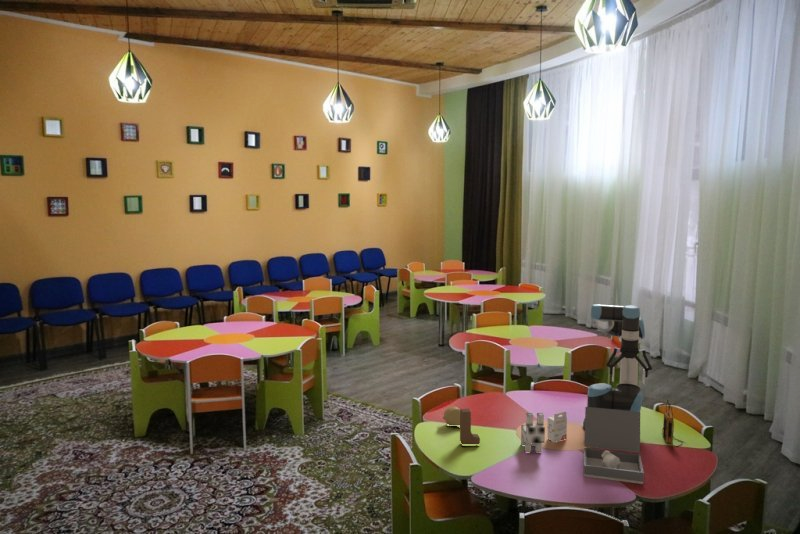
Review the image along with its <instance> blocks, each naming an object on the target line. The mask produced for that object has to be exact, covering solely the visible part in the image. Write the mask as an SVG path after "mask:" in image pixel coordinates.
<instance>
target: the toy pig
mask: <svg viewBox="0 0 800 534" xmlns="http://www.w3.org/2000/svg"><path fill="white" fill-rule="evenodd" d="M460 409H461V408H459V407H457V406H454V405H453V406H449V407H448V408H446V409H445V411H444V413H443V417H442V420H444V421H445V424H446V425H447V424H449V425H460Z"/></svg>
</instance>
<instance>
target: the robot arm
mask: <svg viewBox="0 0 800 534" xmlns="http://www.w3.org/2000/svg"><path fill="white" fill-rule="evenodd" d="M590 318H591V320H595V327H596V329H597V330H598V331H599V332H600V333H602V334H605V335H607V336H611V337H618V341H619V342H620V343H621V344H620V346H621V347H620V348H618V347H616V346H614V348H613V351H612V353H611V355H609V356H610V357H609V358H608V360H607V362H606V364H605V366H606V367H608V368H609V375H612V377H611V383H614V382H615V366H616V365H617V364H619V363H620V365H619V366H620V370H619V383H617V384H616V387H613V386H612V385H611V384H609V383H605V382H601V383H600V382H599V383H594V384H591V385H589V387H588V388H587V395H586V396H587V402H586V404H587V405H586V407H593V408H603V409H614V410H624V411H634V412H640V413H641V410H642V409H641V408H642V405H643V397H644V391H642V390H641V387H640V386H639V385H638V377H639V375H638V374H639V372H638V370H639V364H640V366H641V367H642V368H643V369H642V380H641V381H642V385H645V383H646V378H648V376H649V371H652V370H653V366H652V365H651V363H650V360H649V359H648V356H647V354H646V350H645V348H643V349H639V344H640V343H641V342H642V340H643V339H645V337H646V332H645V331H646V330H645V322H644V319H643V318H642V317H641V309H640V307H639V306H636V305H634V304H627V305H611V304H609V305H608V304H600V303H599V304H594V303H593V304H592V305H591V309H590ZM619 352H620V355H619V356H618V357H617V358H615V356H616V355H617V353H619ZM639 353H640V354H641V355H642V357H643V358H644V361H645V363H646V364H645V363H644V362H643V360H642V359H641V358H640V357H639ZM614 358H615V360H614ZM613 360H614V361H613ZM582 427H583V429H584V430H585V418H584V420H583V423H582Z"/></svg>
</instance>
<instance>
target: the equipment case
mask: <svg viewBox="0 0 800 534" xmlns="http://www.w3.org/2000/svg"><path fill="white" fill-rule="evenodd" d="M605 450H606V449H599V448H591V447H584V449H583V477H586V478H594V479H601V480H610V481H617V482H624V483H632V484H640V485H644V477H645V476H644V475H645V472H644V469H643V468H644V467H643V463H642V457H641V454H640V453H633V452H625V451H616V450H608V451H609V452H610V453H611V454H613V455H615V456H616V457H618V458H619V459H620V462H621V463H623V464H621V465H620V467H617V468H609V467H603V465H602V461H603V458H602V456H601V455H602V453H603V452H604V451H605Z"/></svg>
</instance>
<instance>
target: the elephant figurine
mask: <svg viewBox="0 0 800 534" xmlns="http://www.w3.org/2000/svg"><path fill="white" fill-rule="evenodd" d="M604 450H605V451H604V452H603V453H602V455H601V456H602V458H603V461H602V465H603V467H609V468H617V467H620V465H621V464H623V463H621V462H620V459H619V458H618V457H616V456H615V455H613V454H611V453H610V452H609V451H610V450H609V449H604Z"/></svg>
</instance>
